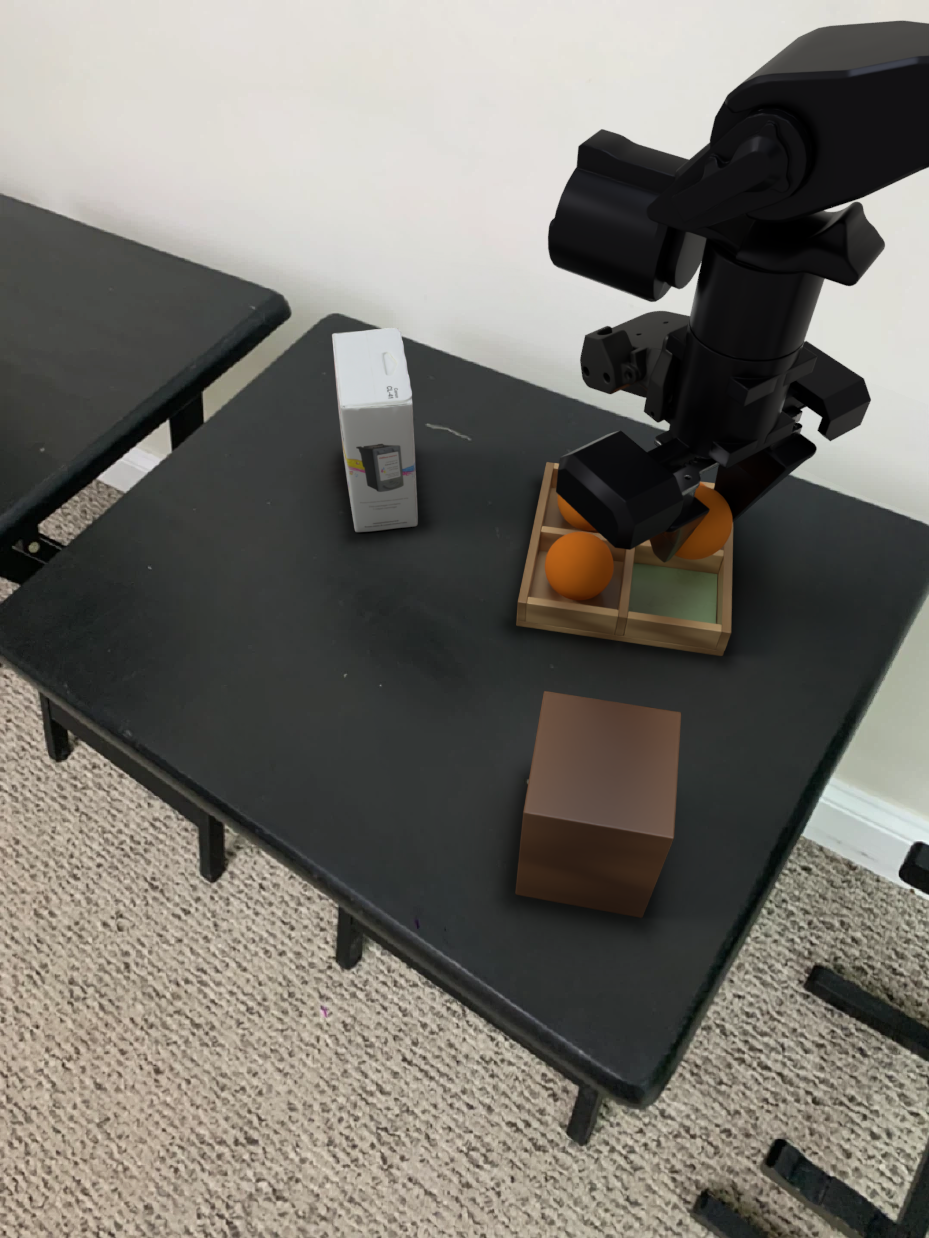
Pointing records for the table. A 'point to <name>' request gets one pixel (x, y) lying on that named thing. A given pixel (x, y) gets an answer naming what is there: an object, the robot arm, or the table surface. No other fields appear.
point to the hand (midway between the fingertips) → (689, 541)
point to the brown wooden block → (599, 803)
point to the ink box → (376, 428)
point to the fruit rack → (630, 590)
